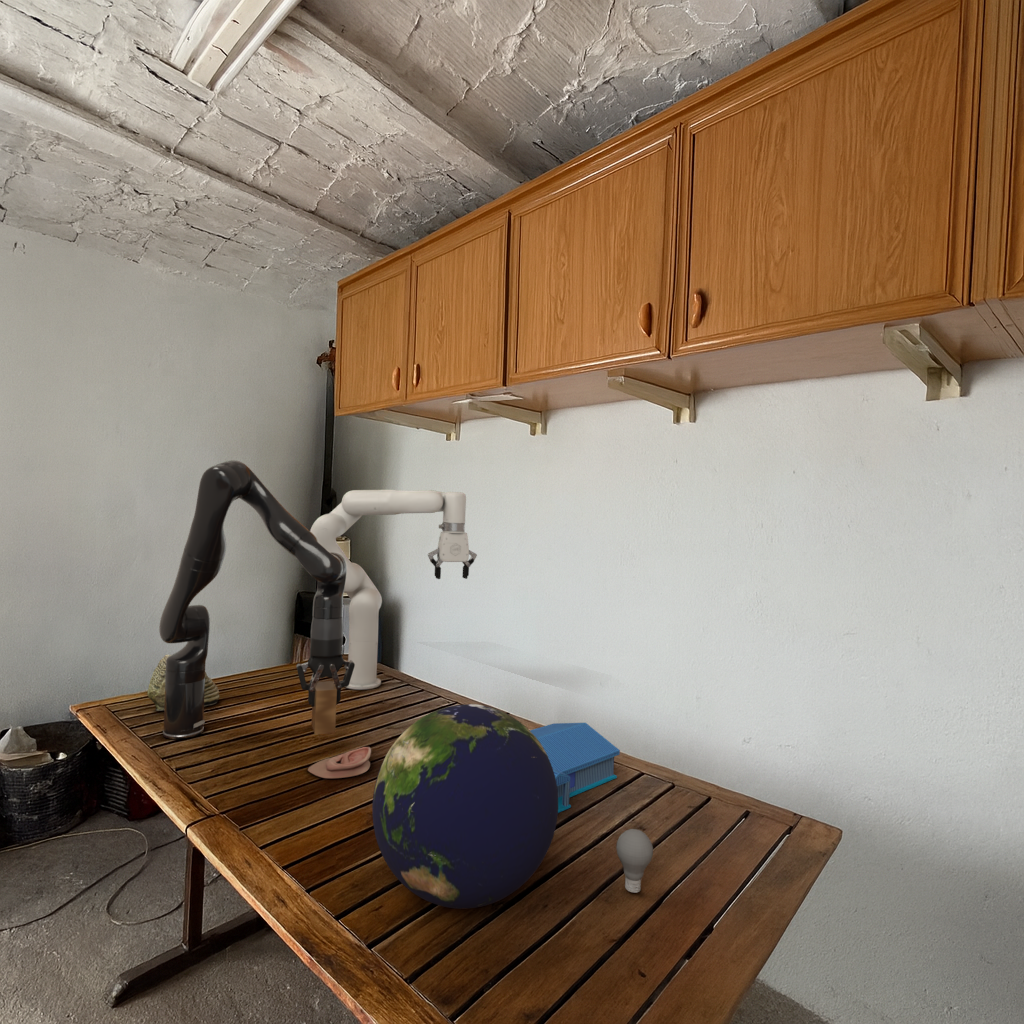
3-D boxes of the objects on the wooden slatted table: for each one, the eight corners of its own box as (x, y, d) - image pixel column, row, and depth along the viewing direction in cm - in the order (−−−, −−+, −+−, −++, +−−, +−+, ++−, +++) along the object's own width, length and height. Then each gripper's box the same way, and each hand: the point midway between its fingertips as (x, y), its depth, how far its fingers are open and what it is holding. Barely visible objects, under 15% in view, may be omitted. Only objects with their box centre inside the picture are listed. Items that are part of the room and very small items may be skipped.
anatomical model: (301, 757, 143) (326, 739, 154) (300, 775, 143) (325, 755, 154) (355, 765, 140) (377, 746, 152) (355, 783, 140) (376, 762, 152)
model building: (501, 837, 120) (504, 785, 120) (427, 790, 139) (429, 744, 138) (628, 782, 147) (630, 739, 147) (552, 748, 165) (553, 710, 165)
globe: (328, 919, 95) (336, 721, 95) (427, 827, 123) (434, 674, 122) (512, 985, 84) (522, 760, 83) (576, 867, 112) (584, 698, 111)
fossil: (144, 707, 182) (145, 655, 182) (212, 696, 194) (213, 647, 194) (151, 716, 175) (153, 662, 175) (221, 703, 188) (223, 653, 188)
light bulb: (610, 879, 108) (613, 822, 108) (644, 879, 109) (647, 822, 109) (619, 902, 102) (622, 840, 102) (655, 901, 103) (658, 840, 103)
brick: (314, 734, 150) (316, 691, 149) (311, 723, 156) (313, 682, 156) (335, 732, 152) (336, 689, 151) (331, 722, 158) (332, 680, 158)
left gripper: (297, 639, 147) (294, 712, 148) (359, 637, 153) (356, 707, 153) (294, 633, 154) (292, 702, 155) (354, 630, 160) (351, 697, 160)
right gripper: (432, 528, 208) (430, 580, 209) (481, 529, 215) (479, 579, 216) (425, 527, 215) (423, 577, 215) (473, 528, 222) (471, 576, 223)
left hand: (324, 704), depth 154 cm, fingers closed on brick, 4 cm apart
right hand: (451, 578), depth 216 cm, fingers open, 9 cm apart
